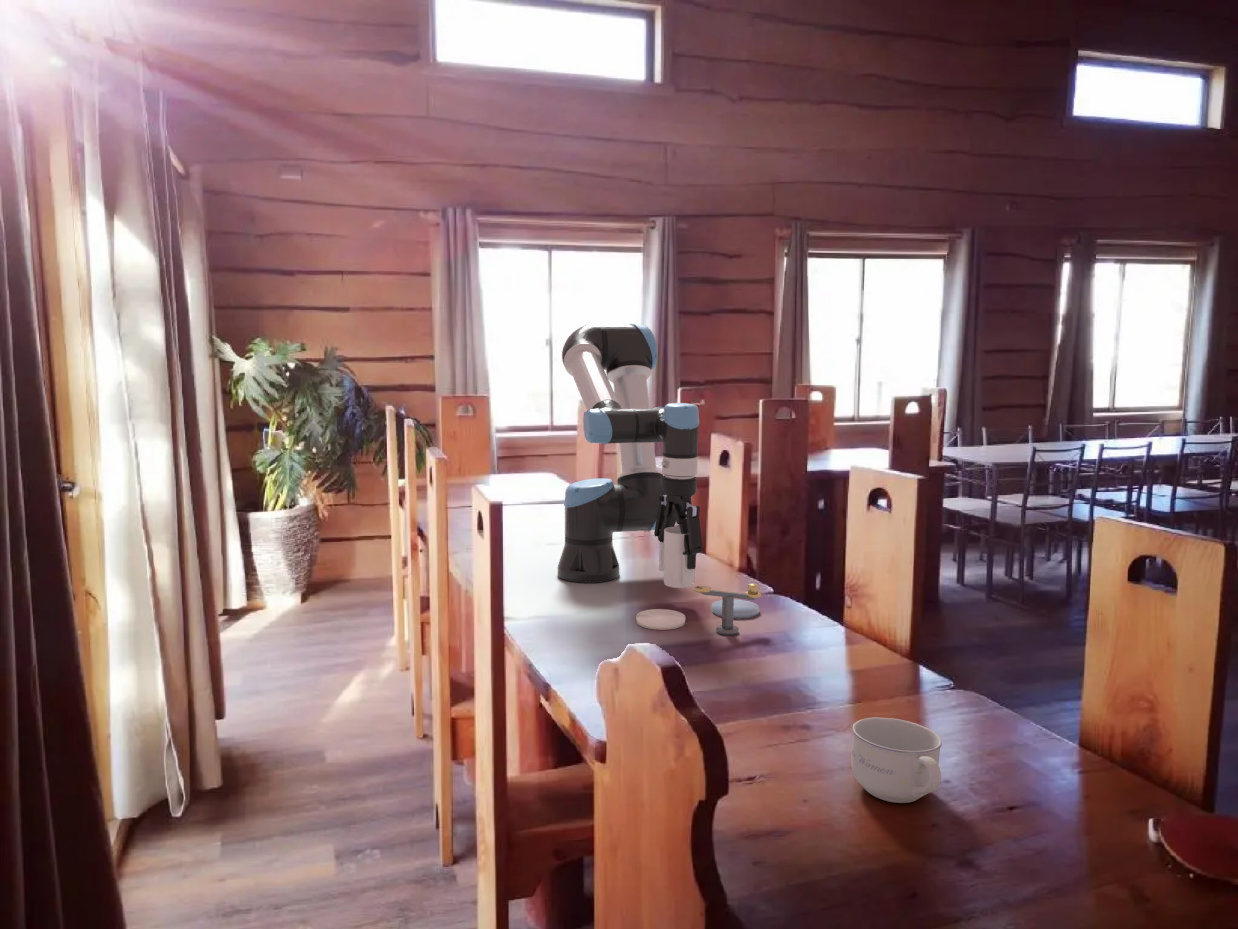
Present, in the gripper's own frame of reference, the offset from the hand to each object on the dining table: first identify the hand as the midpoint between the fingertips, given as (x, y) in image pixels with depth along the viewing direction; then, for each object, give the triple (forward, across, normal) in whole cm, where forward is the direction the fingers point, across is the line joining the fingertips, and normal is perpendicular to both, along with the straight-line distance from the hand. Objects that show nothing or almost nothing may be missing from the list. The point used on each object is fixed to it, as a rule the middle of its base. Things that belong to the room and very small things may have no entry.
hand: (676, 576), depth 194 cm
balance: (+5, +22, -1) cm, 23 cm away
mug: (+1, 0, 0) cm, 1 cm away
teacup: (+3, +86, -16) cm, 87 cm away
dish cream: (+6, +11, -10) cm, 16 cm away
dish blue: (+6, +11, +8) cm, 15 cm away
